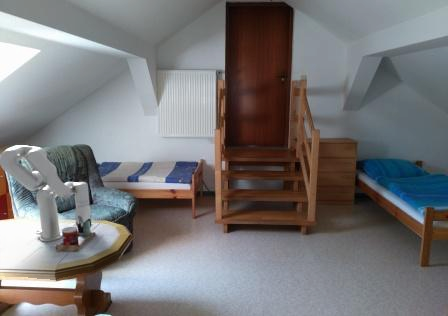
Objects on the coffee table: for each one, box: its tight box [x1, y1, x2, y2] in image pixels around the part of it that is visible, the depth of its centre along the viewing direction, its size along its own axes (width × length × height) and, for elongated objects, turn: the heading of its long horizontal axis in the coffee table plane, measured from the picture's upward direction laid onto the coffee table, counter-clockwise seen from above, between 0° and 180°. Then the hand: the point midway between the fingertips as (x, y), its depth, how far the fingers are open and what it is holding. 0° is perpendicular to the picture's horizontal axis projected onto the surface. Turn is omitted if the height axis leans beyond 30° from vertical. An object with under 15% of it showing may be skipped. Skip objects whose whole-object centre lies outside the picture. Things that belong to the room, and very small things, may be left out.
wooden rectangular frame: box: [54, 221, 97, 253], centre depth 204 cm, size 12×23×9 cm, turn 174°
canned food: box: [61, 226, 80, 246], centre depth 198 cm, size 8×8×11 cm
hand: (85, 229), depth 214 cm, fingers open, 9 cm apart
